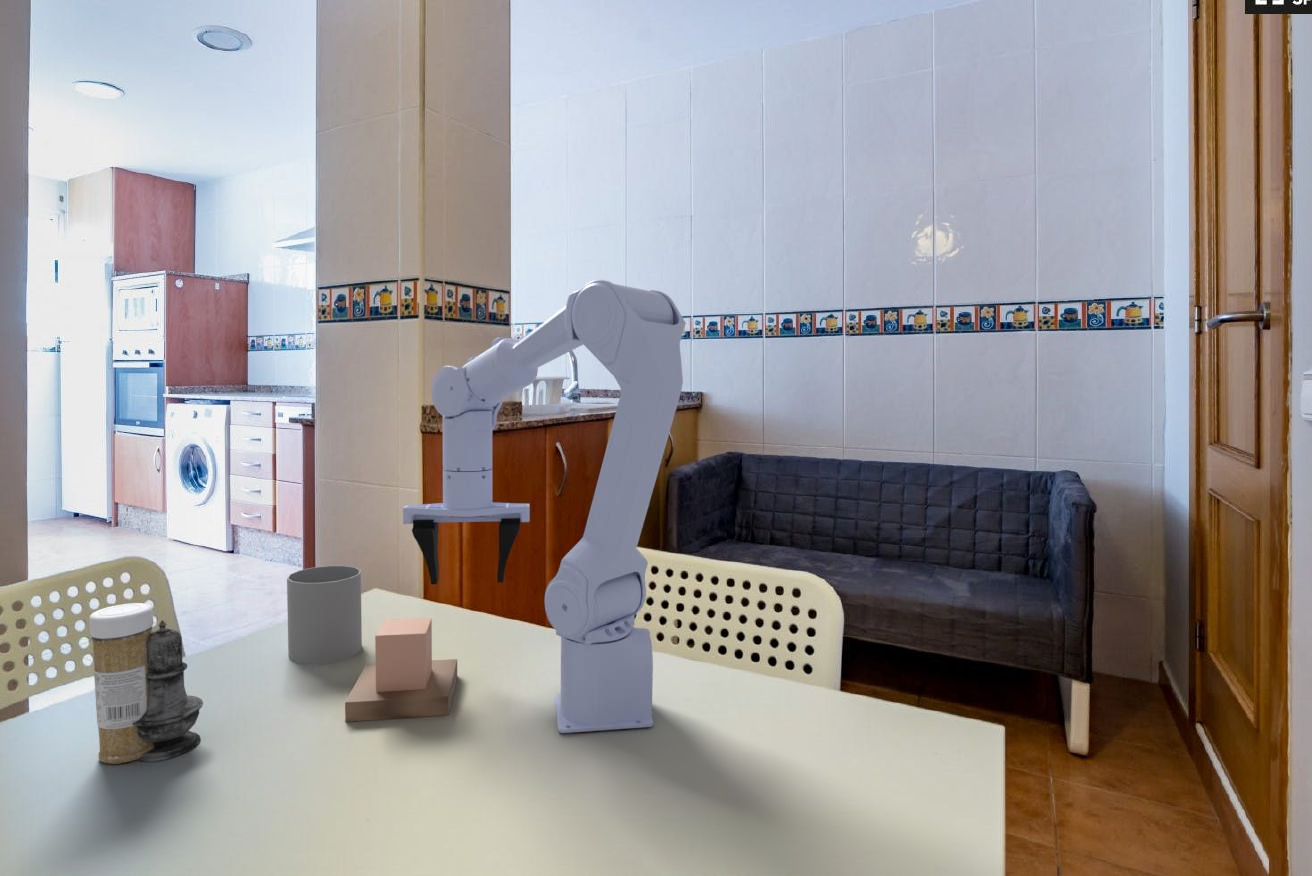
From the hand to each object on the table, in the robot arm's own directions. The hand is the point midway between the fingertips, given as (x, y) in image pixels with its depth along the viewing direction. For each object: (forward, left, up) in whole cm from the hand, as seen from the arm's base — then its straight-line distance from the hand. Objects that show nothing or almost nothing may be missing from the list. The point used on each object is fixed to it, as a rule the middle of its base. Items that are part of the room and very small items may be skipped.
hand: (468, 581), depth 85 cm
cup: (+18, -7, -11) cm, 22 cm away
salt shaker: (+26, +16, -11) cm, 32 cm away
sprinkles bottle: (+29, +17, -11) cm, 35 cm away
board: (+6, +8, -10) cm, 14 cm away
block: (+6, +8, -8) cm, 13 cm away
